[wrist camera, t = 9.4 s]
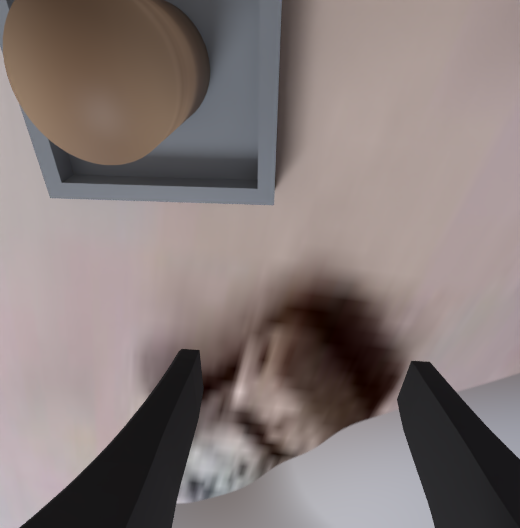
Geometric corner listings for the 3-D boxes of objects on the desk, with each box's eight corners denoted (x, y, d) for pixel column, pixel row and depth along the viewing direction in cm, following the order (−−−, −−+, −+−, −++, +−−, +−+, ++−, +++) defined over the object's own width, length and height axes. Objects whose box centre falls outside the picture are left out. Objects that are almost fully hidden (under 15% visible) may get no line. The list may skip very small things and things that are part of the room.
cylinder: (208, 0, 14) (167, -21, 9) (211, 129, 16) (180, 170, 11) (86, -8, 14) (-26, -34, 9) (108, 121, 16) (32, 159, 11)
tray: (285, -104, 12) (286, -123, 11) (274, 191, 18) (273, 205, 17) (-17, -105, 13) (-56, -125, 11) (68, 185, 19) (50, 198, 17)
